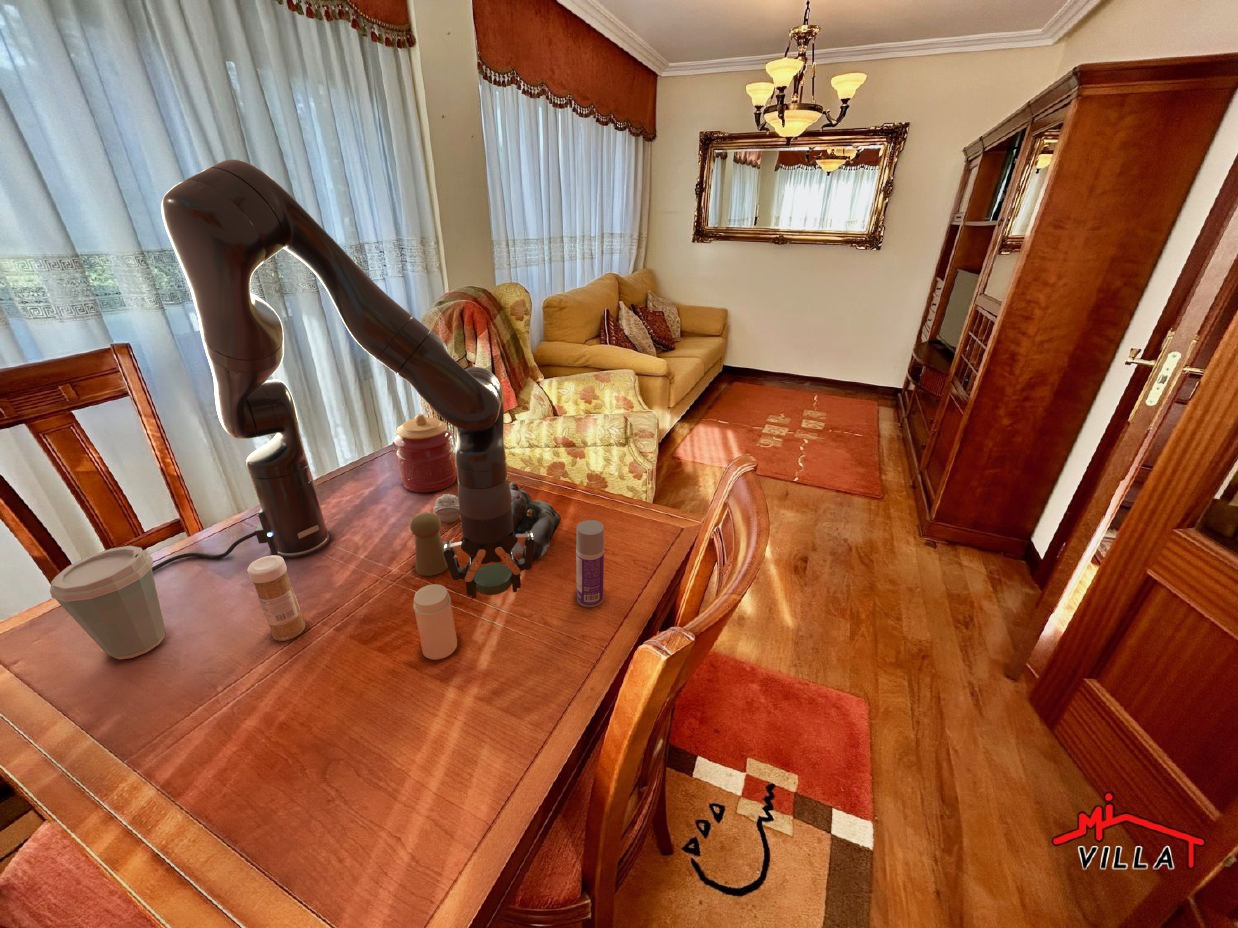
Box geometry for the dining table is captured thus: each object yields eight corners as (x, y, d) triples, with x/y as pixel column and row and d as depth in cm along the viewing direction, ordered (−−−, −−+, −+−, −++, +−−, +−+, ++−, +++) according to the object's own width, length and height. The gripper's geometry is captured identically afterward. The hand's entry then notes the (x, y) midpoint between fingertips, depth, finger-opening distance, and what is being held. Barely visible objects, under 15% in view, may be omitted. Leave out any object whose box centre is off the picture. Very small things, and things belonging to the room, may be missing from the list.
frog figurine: (434, 531, 105) (429, 503, 102) (436, 514, 111) (432, 486, 108) (464, 528, 106) (460, 500, 103) (465, 511, 112) (461, 484, 109)
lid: (510, 569, 84) (510, 561, 84) (513, 592, 79) (513, 583, 78) (474, 574, 83) (473, 566, 82) (475, 598, 78) (474, 589, 77)
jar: (421, 662, 75) (410, 609, 70) (423, 637, 79) (413, 585, 74) (457, 655, 76) (449, 603, 71) (457, 631, 80) (449, 580, 76)
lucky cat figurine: (537, 570, 94) (495, 518, 88) (494, 570, 101) (452, 522, 95) (571, 514, 104) (536, 464, 98) (531, 518, 111) (495, 471, 105)
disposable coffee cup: (79, 681, 70) (25, 598, 63) (106, 629, 78) (61, 552, 72) (175, 655, 74) (134, 575, 68) (190, 609, 83) (156, 534, 76)
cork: (438, 578, 92) (430, 528, 87) (409, 572, 93) (399, 523, 88) (455, 558, 97) (448, 510, 92) (426, 553, 98) (418, 505, 93)
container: (607, 594, 89) (609, 523, 83) (595, 610, 85) (596, 538, 79) (584, 586, 91) (584, 516, 84) (571, 602, 87) (570, 530, 81)
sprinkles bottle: (306, 617, 82) (284, 550, 76) (304, 636, 78) (281, 568, 72) (274, 626, 80) (248, 558, 74) (270, 646, 76) (243, 576, 70)
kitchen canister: (391, 490, 120) (377, 422, 112) (419, 466, 131) (409, 403, 123) (442, 496, 118) (432, 427, 110) (466, 471, 129) (458, 407, 121)
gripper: (433, 523, 69) (448, 615, 77) (537, 511, 73) (541, 600, 81) (435, 497, 76) (449, 584, 83) (531, 487, 79) (535, 571, 87)
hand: (494, 591), depth 82 cm, fingers closed on lid, 6 cm apart
